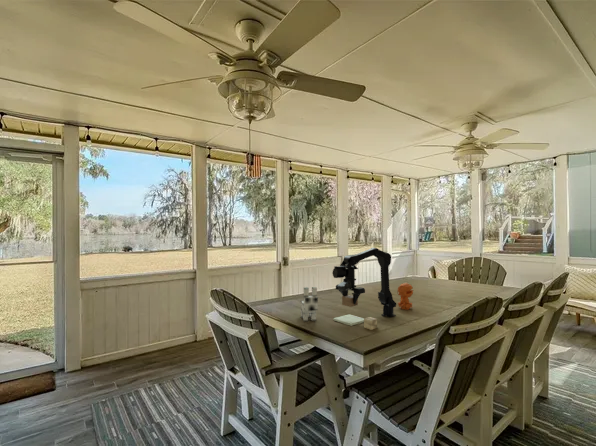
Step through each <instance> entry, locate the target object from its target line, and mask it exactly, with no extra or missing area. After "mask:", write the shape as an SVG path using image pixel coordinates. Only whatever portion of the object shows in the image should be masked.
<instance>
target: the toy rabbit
mask: <svg viewBox="0 0 596 446" xmlns="http://www.w3.org/2000/svg"><path fill="white" fill-rule="evenodd" d="M317 311H319V297H318V288H317V287H316V286H315V287H311V295H309V287H307V286H306V287H303V300H300V317H301V319H302V321H303V322H309V318H310V320H311V321H312V322H316V321H317Z"/></svg>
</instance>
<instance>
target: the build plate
mask: <svg viewBox="0 0 596 446" xmlns="http://www.w3.org/2000/svg"><path fill="white" fill-rule="evenodd" d="M364 319H365V318H363V317H359V316H356V315H353V314H350V313H349V314H346V315H341V316H337V317H333V319H332V320H333V321H334V322H338V323H341V324H344V325H347V326H357V325H359V324H362V323H363V324H364Z"/></svg>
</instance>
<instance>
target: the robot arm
mask: <svg viewBox="0 0 596 446" xmlns="http://www.w3.org/2000/svg"><path fill="white" fill-rule="evenodd" d="M372 256H374V257H375V258H376V259H377V262H378V265H379V267H380V284H381V286H380V287H381V288H380V289H381V290H380V291H377V296H378V297H377V298H378V301H379V302H380V305H381V306H383V308H382V311H383V312H382V314H381V316H382V317H386V318H392V317H395V316H396V314H394V310H395V309H394V308H396V307H397V302H396V301H395V300H394V299H393V294H392V292H391V290H390V271H389V270H390V268H389V267H390V265H391V263H392V255H391V254H390V252H385V251H382V250H381V249H379V248H377V247H371V248H370V249H367V250H364V251H362V252H361V251H360V252H358V253H356V254H355V253H354V254H349V255H345V256H344V257H343V260H342V262H341V263H340V264H339V265H334V266H333V270H332V276H333V278H334V279H341V278H342V279H343V280H342V281H341V282H340V283H339V284H336V285H335V290H337V291H338V292H340V293H341V295H342V296H347V295H349V291H352V292H351V295H352V296H353V303H354V304H356V301H357V299H358V300H359V298H360V296H361V294H364V293H366V289H365V288H364V287H361V286H358V287H357V285H356V283H355V282H356V280H357V278H355V277H356V273H355V270H358V269H359V268H358V267H357V266H356V265H357V264H359V262H360V261H362V260H365V259H367V258H370V257H372Z"/></svg>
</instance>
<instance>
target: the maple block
mask: <svg viewBox="0 0 596 446" xmlns="http://www.w3.org/2000/svg"><path fill="white" fill-rule="evenodd" d="M363 328H364V329H368V330H371V331H372V330H375V329H377V328H378V318H374V317H373V316H372V317H371V316H369V317H365V318H364V322H363Z"/></svg>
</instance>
